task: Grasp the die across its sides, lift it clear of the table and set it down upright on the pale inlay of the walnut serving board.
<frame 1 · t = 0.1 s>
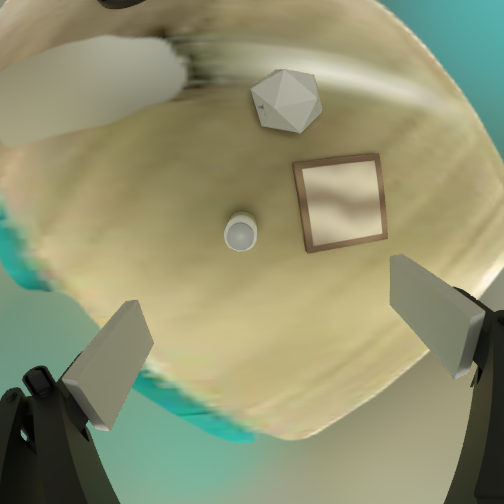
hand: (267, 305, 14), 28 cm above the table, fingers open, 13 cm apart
die: (284, 106, 36), on the table
board: (342, 201, 40), on the table
shaker: (242, 224, 41), on the table
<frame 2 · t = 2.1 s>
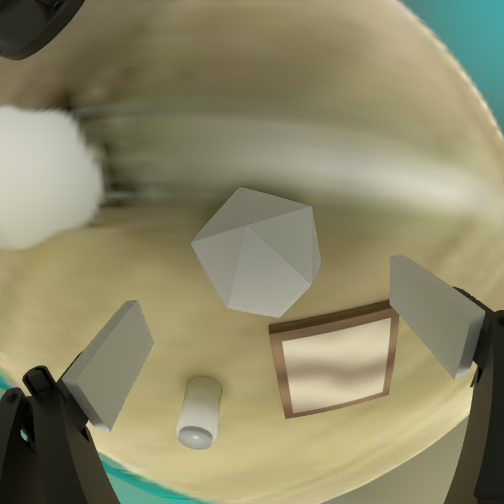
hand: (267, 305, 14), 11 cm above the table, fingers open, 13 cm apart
die: (258, 239, 24), on the table
board: (336, 362, 28), on the table
shaker: (204, 388, 29), on the table
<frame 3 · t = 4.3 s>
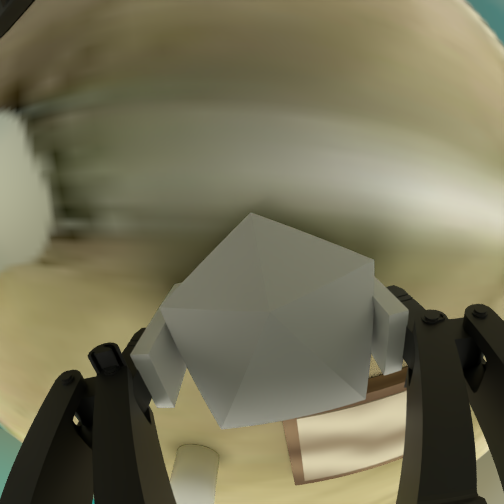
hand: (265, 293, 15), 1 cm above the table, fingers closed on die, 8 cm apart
die: (269, 288, 16), on the table, touching gripper
board: (360, 428, 20), on the table
shaker: (198, 455, 21), on the table
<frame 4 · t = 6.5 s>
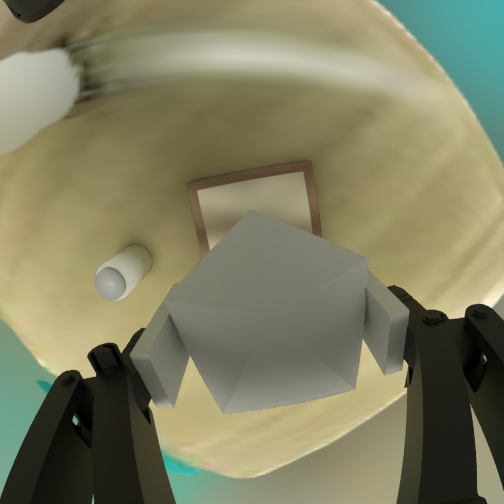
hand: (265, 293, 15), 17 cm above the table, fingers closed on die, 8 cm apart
die: (267, 275, 17), point 15 cm above the table, touching gripper
board: (259, 229, 31), on the table
shaker: (137, 260, 32), on the table
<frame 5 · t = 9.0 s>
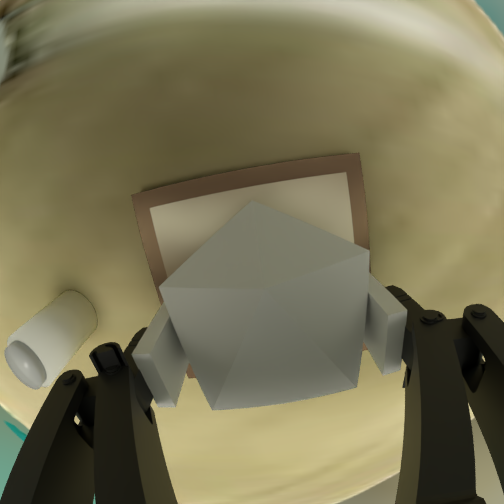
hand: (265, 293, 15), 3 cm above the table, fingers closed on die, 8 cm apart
die: (267, 279, 16), point 1 cm above the table, touching board, gripper
board: (263, 273, 18), on the table
shaker: (77, 313, 19), on the table
when the fingers open (3 cm above the table, at t = 9.3 s): die stays where it is, resting on board.
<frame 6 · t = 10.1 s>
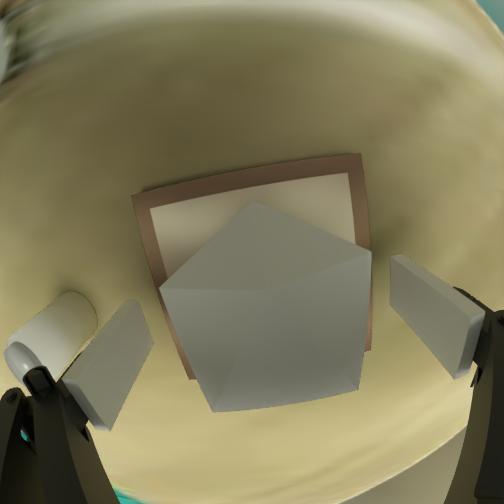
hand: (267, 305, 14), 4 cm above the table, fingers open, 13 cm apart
die: (268, 280, 16), point 1 cm above the table, touching board
board: (264, 274, 18), on the table
shaker: (77, 314, 19), on the table
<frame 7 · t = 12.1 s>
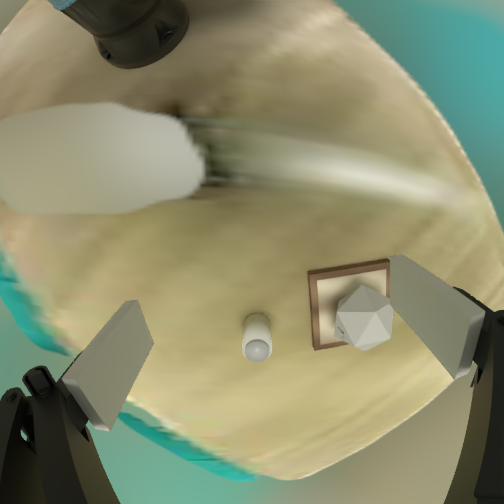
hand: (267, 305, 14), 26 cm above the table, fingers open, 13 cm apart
die: (354, 306, 40), point 1 cm above the table, touching board
board: (350, 304, 42), on the table
shaker: (256, 324, 43), on the table
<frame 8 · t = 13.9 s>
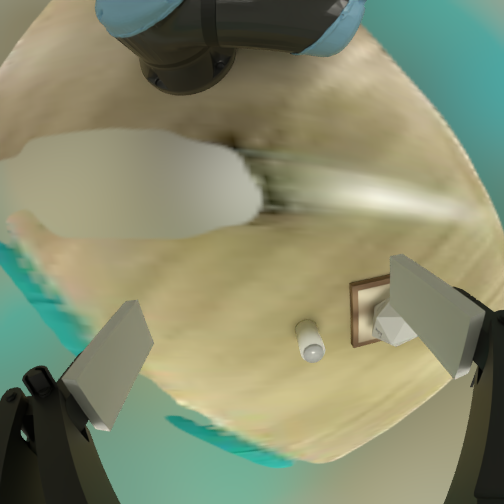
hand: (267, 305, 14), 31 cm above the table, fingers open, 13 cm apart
die: (386, 310, 46), point 1 cm above the table, touching board
board: (382, 307, 48), on the table
shaker: (306, 329, 49), on the table
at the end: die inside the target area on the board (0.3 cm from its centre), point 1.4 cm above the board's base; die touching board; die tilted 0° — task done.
